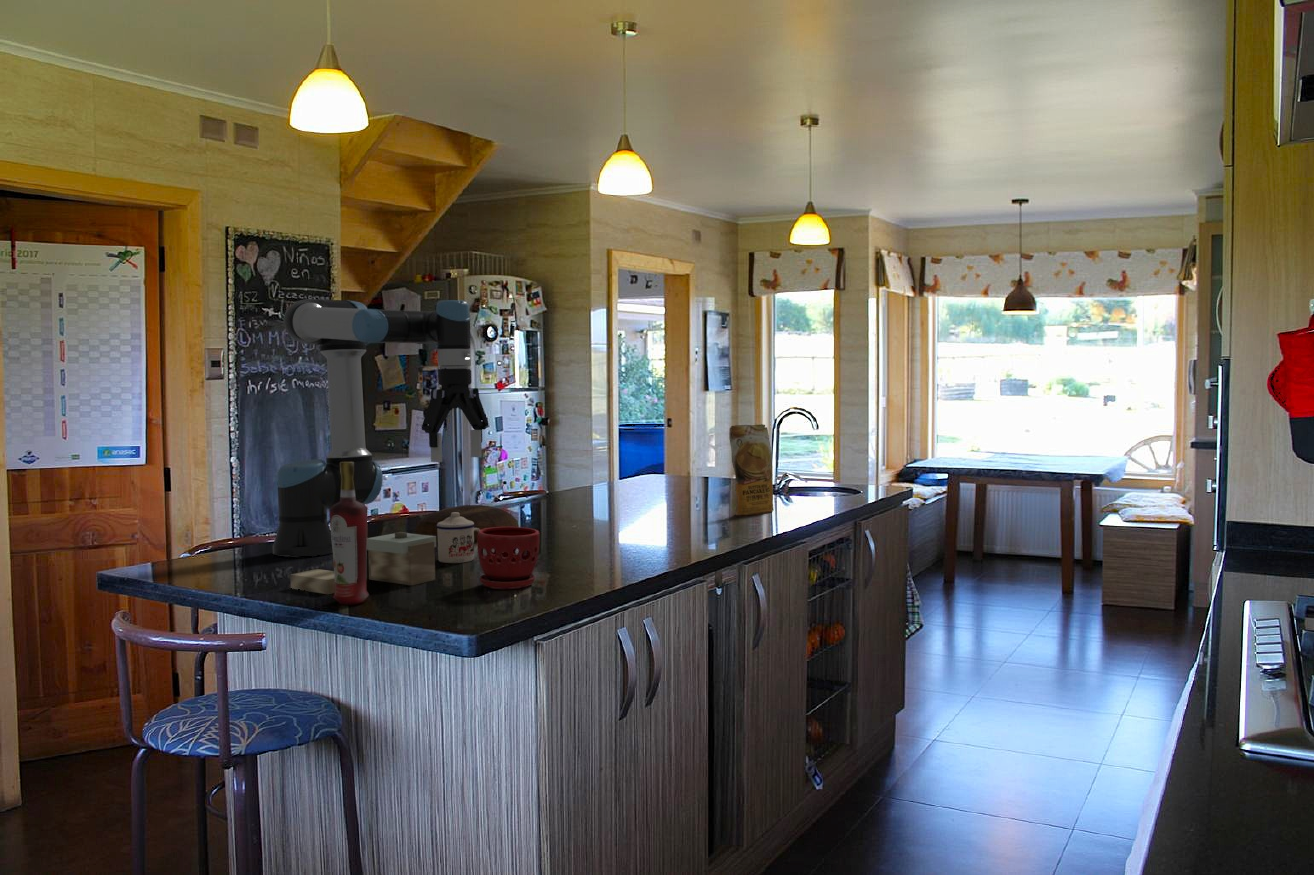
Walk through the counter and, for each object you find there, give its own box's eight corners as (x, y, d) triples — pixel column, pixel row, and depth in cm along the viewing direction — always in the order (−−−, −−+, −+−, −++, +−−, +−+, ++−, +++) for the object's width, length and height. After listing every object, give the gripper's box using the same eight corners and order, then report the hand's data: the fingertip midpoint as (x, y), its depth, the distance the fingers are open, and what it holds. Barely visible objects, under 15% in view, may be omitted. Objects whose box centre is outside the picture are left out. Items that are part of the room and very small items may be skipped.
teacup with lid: (449, 565, 247) (448, 516, 247) (430, 560, 254) (429, 512, 253) (492, 558, 255) (491, 511, 255) (473, 554, 262) (471, 507, 261)
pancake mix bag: (722, 514, 327) (722, 425, 325) (766, 509, 339) (766, 423, 337) (737, 517, 322) (736, 426, 320) (781, 511, 334) (781, 423, 332)
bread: (539, 534, 295) (539, 503, 294) (474, 548, 272) (473, 515, 271) (464, 527, 310) (463, 497, 310) (395, 540, 287) (395, 508, 286)
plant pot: (487, 594, 214) (485, 536, 213) (472, 583, 226) (470, 528, 225) (548, 588, 219) (547, 531, 219) (530, 577, 231) (529, 523, 231)
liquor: (324, 604, 206) (319, 463, 204) (347, 597, 213) (343, 460, 211) (355, 607, 204) (350, 464, 202) (377, 599, 210) (373, 461, 209)
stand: (290, 588, 223) (290, 574, 222) (317, 582, 229) (317, 569, 228) (328, 594, 216) (327, 580, 216) (355, 588, 222) (354, 574, 222)
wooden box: (369, 579, 231) (368, 541, 231) (393, 574, 237) (392, 536, 237) (411, 585, 224) (410, 546, 223) (435, 579, 230) (434, 541, 229)
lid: (365, 549, 229) (365, 534, 229) (400, 542, 237) (399, 528, 237) (402, 553, 223) (402, 538, 223) (436, 547, 231) (436, 531, 231)
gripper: (428, 367, 229) (431, 464, 230) (501, 367, 250) (503, 455, 252) (403, 368, 233) (406, 463, 234) (477, 367, 254) (479, 454, 255)
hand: (457, 459), depth 243 cm, fingers open, 13 cm apart
